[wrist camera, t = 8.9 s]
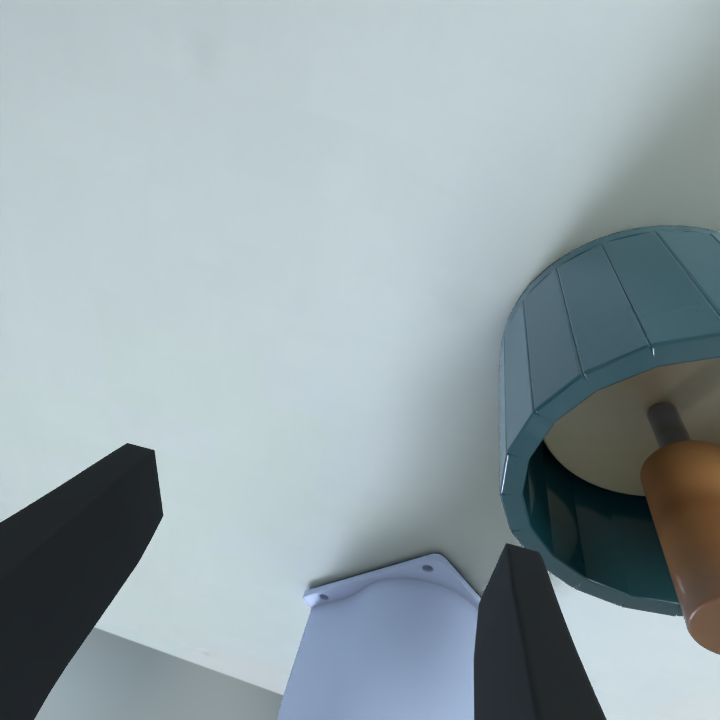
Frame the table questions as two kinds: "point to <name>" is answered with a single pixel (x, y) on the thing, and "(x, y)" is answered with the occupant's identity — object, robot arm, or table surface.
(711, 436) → the disc with orange handle
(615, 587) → the teal drum lampshade
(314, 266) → the table surface
